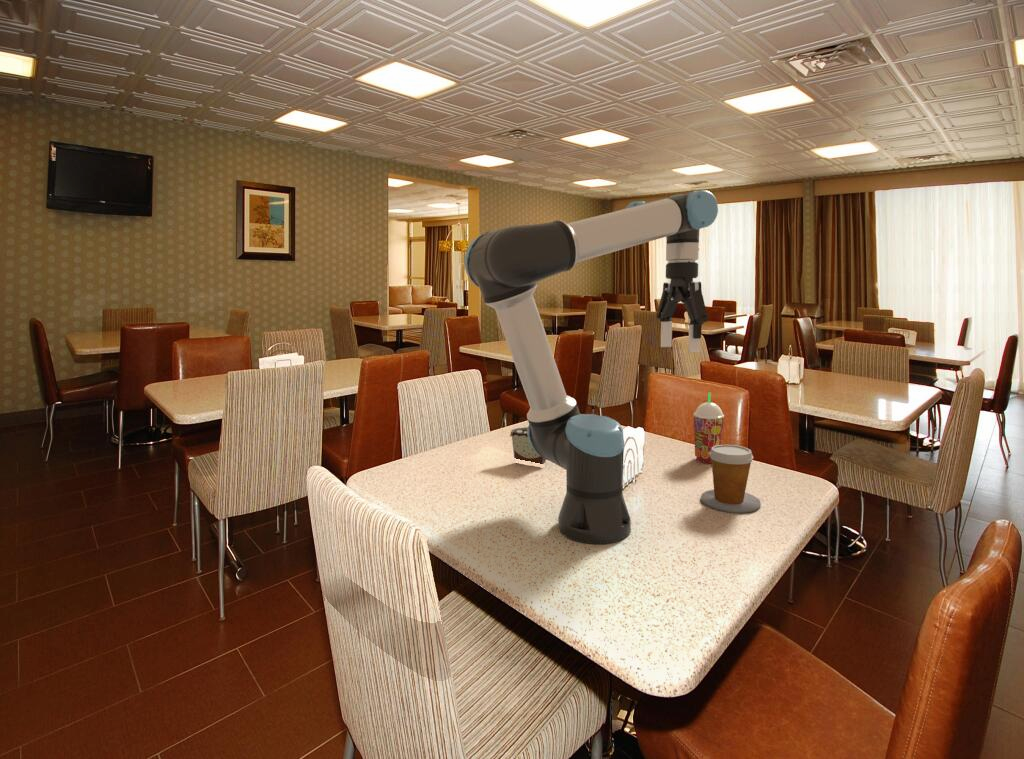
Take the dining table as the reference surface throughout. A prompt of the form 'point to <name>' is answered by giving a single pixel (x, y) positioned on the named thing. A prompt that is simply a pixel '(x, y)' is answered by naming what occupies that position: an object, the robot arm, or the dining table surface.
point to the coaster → (746, 506)
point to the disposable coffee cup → (730, 472)
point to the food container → (524, 446)
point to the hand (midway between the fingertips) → (679, 349)
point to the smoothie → (707, 429)
